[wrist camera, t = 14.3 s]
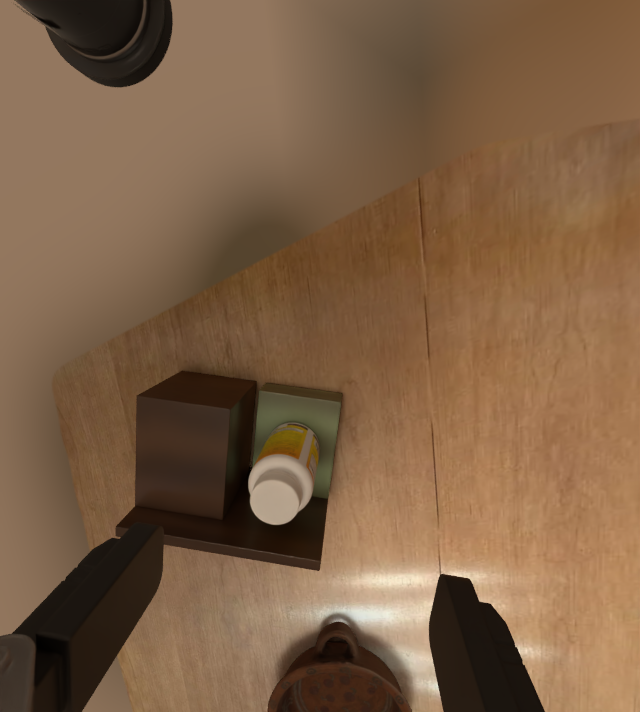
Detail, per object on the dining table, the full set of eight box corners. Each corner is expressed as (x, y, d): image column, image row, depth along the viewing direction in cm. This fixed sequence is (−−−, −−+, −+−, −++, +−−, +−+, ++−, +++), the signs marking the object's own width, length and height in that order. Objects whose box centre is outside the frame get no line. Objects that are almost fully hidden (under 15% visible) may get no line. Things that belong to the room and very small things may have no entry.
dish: (288, 749, 52) (281, 797, 47) (262, 614, 48) (251, 653, 43) (416, 749, 50) (423, 800, 45) (401, 609, 46) (407, 648, 41)
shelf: (181, 370, 42) (115, 407, 30) (342, 393, 41) (337, 440, 29) (177, 468, 45) (115, 536, 33) (328, 492, 43) (319, 571, 32)
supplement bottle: (257, 442, 40) (224, 497, 30) (295, 410, 39) (275, 456, 29) (292, 479, 40) (272, 547, 30) (331, 449, 39) (324, 508, 29)
